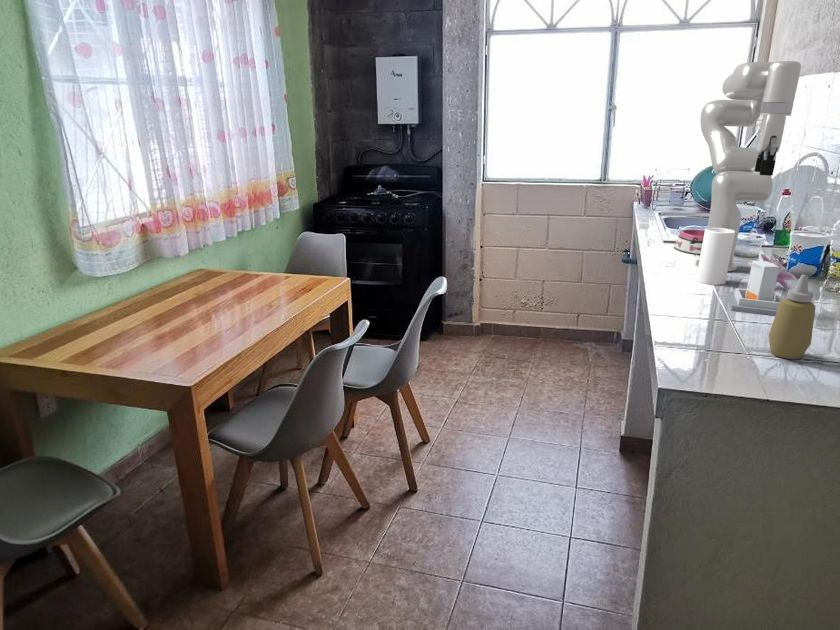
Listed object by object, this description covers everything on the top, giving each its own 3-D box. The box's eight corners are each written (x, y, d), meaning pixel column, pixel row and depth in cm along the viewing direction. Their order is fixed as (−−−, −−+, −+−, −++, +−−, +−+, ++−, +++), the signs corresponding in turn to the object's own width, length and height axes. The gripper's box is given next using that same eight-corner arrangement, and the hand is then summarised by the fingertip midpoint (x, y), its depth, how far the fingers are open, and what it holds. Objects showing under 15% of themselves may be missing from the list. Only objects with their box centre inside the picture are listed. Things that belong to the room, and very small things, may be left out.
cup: (719, 278, 191) (729, 228, 186) (729, 285, 183) (739, 233, 178) (692, 277, 192) (701, 226, 186) (701, 284, 184) (710, 232, 179)
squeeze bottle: (756, 347, 136) (774, 270, 130) (790, 347, 137) (809, 270, 131) (779, 362, 128) (799, 280, 122) (815, 362, 129) (837, 280, 123)
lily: (793, 299, 175) (809, 269, 174) (755, 281, 175) (771, 251, 175) (771, 299, 187) (786, 271, 186) (736, 282, 187) (751, 254, 187)
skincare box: (742, 302, 167) (751, 260, 163) (757, 302, 168) (767, 260, 164) (755, 309, 162) (764, 266, 158) (770, 310, 162) (780, 266, 158)
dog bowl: (729, 249, 231) (733, 232, 229) (723, 259, 216) (727, 240, 214) (678, 243, 240) (681, 226, 238) (669, 252, 225) (672, 233, 223)
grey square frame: (725, 295, 173) (727, 285, 172) (781, 302, 169) (783, 291, 168) (731, 310, 161) (733, 299, 160) (790, 317, 156) (793, 306, 155)
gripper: (756, 109, 175) (744, 170, 181) (765, 109, 160) (752, 175, 166) (785, 110, 173) (772, 171, 178) (798, 110, 157) (783, 177, 163)
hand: (763, 173), depth 172 cm, fingers open, 9 cm apart
